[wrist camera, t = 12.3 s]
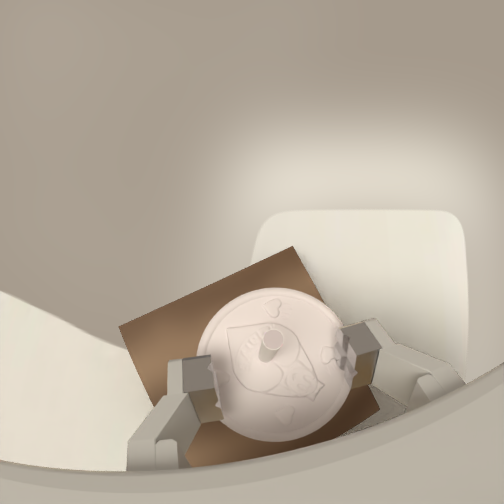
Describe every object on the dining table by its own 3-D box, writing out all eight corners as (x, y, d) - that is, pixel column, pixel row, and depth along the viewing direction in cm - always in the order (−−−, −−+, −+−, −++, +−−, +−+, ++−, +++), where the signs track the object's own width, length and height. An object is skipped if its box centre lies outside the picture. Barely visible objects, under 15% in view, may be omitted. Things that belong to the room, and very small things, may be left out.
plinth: (360, 404, 24) (380, 409, 20) (210, 480, 21) (207, 498, 18) (284, 262, 28) (292, 246, 24) (134, 332, 25) (118, 326, 21)
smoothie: (254, 310, 23) (262, 200, 10) (330, 362, 21) (437, 317, 8) (198, 383, 21) (120, 371, 8) (275, 437, 19) (317, 510, 6)
